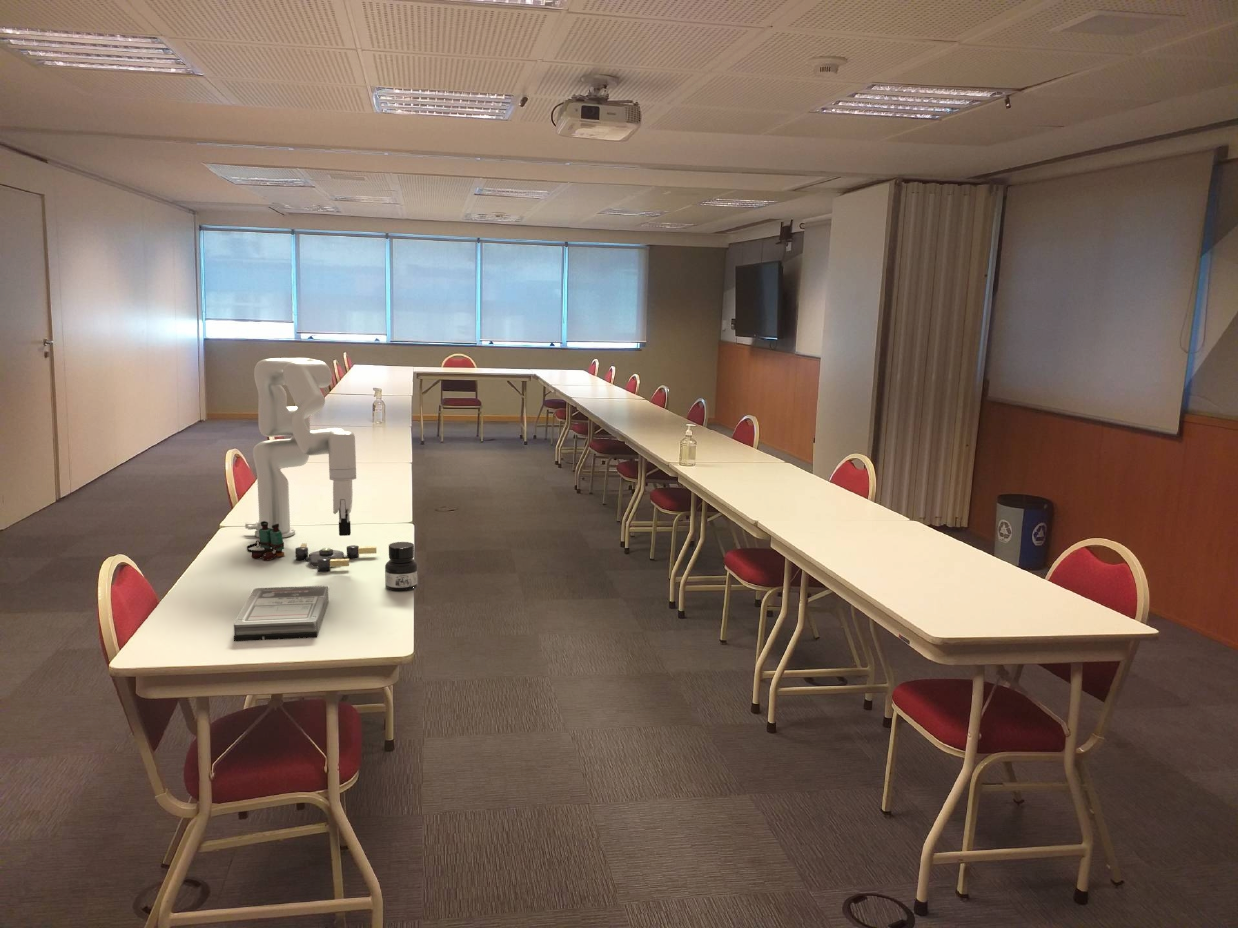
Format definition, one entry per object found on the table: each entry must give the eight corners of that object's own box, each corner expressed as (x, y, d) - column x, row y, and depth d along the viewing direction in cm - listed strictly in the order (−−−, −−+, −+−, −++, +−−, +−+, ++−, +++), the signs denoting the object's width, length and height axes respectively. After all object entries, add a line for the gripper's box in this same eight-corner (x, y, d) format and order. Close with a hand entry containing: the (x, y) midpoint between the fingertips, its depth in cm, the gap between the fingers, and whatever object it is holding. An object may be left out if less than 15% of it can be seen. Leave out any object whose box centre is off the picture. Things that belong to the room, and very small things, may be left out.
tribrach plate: (303, 569, 262) (302, 555, 261) (307, 558, 272) (306, 545, 272) (346, 567, 264) (345, 554, 264) (348, 556, 275) (348, 543, 275)
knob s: (317, 572, 259) (316, 561, 258) (318, 568, 262) (317, 557, 262) (348, 571, 261) (348, 560, 260) (349, 567, 264) (349, 556, 264)
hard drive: (233, 643, 206) (232, 624, 205) (255, 604, 232) (254, 588, 231) (317, 639, 210) (316, 621, 209) (329, 601, 236) (328, 585, 235)
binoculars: (239, 528, 267) (264, 518, 275) (243, 561, 270) (269, 550, 278) (261, 532, 263) (286, 522, 272) (265, 566, 266) (290, 554, 275)
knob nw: (307, 560, 270) (307, 549, 269) (295, 560, 269) (294, 550, 269) (310, 552, 278) (310, 542, 278) (298, 552, 278) (297, 542, 277)
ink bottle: (382, 592, 243) (382, 549, 241) (384, 582, 252) (384, 541, 250) (419, 591, 245) (419, 548, 243) (420, 581, 254) (419, 540, 251)
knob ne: (346, 559, 273) (346, 548, 272) (347, 555, 276) (346, 545, 276) (376, 558, 275) (376, 547, 274) (376, 554, 278) (376, 544, 278)
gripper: (331, 469, 268) (333, 529, 271) (327, 478, 253) (329, 541, 256) (357, 469, 270) (359, 528, 273) (354, 477, 255) (356, 540, 258)
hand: (344, 534), depth 264 cm, fingers closed
